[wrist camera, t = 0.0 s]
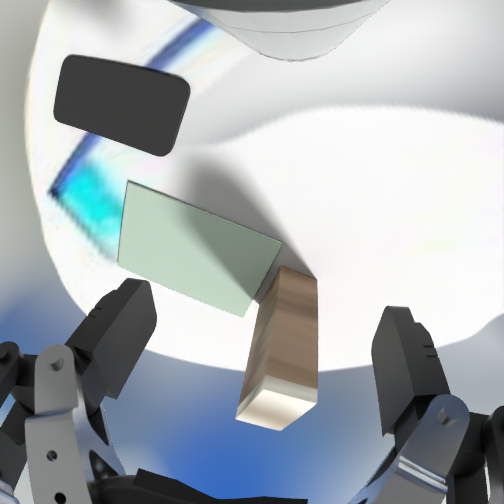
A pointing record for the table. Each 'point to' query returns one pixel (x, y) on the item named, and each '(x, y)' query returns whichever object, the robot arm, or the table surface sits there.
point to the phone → (122, 103)
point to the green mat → (193, 250)
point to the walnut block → (282, 354)
